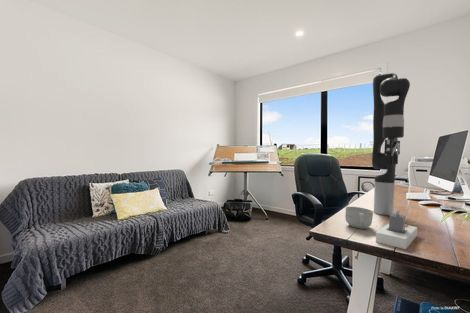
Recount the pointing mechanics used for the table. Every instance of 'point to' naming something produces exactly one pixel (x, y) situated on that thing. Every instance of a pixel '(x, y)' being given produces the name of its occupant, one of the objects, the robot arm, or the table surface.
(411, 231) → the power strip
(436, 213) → the table surface
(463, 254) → the table surface
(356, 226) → the teacup
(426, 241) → the table surface
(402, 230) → the charger
